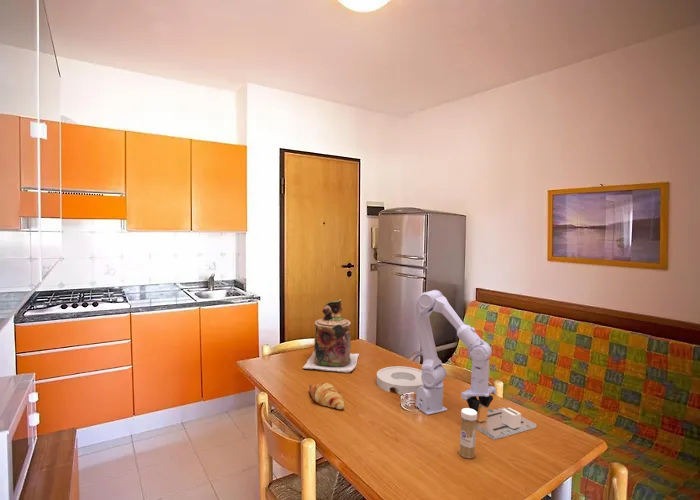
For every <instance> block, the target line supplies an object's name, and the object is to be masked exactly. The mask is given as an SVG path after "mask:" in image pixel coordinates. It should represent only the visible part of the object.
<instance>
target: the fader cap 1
mask: <svg viewBox="0 0 700 500" xmlns="http://www.w3.org/2000/svg"><path fill="white" fill-rule="evenodd" d="M488 411H489V407H486V406H484V405H482V404H481V403H480V404H479V407H478V413H477V421H479V422H482V421H486V420H487V413H488Z"/></svg>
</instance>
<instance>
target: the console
mask: <svg viewBox="0 0 700 500" xmlns="http://www.w3.org/2000/svg"><path fill="white" fill-rule="evenodd" d="M505 408H506V407H505V406H503V407H499V408H496V407H494V409H491V408H488V413H487V420H486V421H482V422H479V421H477V420H476V431H477V430H478V431H479V432H480V433H482V434H484V435H485V436H487V437H489V438H490V439H492V440H493V441H494V440H498V439H501V438H505V437H509V436H512V435H515V434H520V433H522V432H523V433H524V432H525V431H530V430H532V429H536V428H537V423H535V422H534V421H531V420H529V419H528V418H526V417H523V416H522V415H521V427H518V428H515V429H512V428H511V427H509V426H507V425H505V424H504V423H502V422H501V418H502V409H505Z"/></svg>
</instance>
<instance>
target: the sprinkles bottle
mask: <svg viewBox="0 0 700 500" xmlns="http://www.w3.org/2000/svg"><path fill="white" fill-rule="evenodd" d="M460 416H461V422H460V435H459V453H458V454H459V455H460V456H461V458H462V457H463V458H465V459H468V460H469V459H473V458H474V457H475V456H476V454H475V452H476V450H475V449H476V437H477V436H476V435H477V434H476V433H477V429H476V420H477V412H476V411H475V410H474V409H471V408H469V407H465V408H462V409H461V411H460Z"/></svg>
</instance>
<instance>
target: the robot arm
mask: <svg viewBox="0 0 700 500" xmlns="http://www.w3.org/2000/svg"><path fill="white" fill-rule="evenodd" d="M415 301H416V304H415V307H414V311H413V316H414V320H415V326H416V329H417V330H416V331H417V335H418V340H419V345H420V349H421V354H422V359H423V361H422V364H421V370H422V375H421V380H422V382H423V385H422V386H421V387H418V389H417V393H416V395H415V396H416V397H415V405H416V406H417V407H418V408H419V410H420V411H421V412H423V413H424V414H425V415H432V414H438V413H441V412H446V411H448V408H447V407H445V406H444V405H443V403H444V402H443V401H444V399H443V398H444V380H445V379H446V376H447V371H446V369H445V367H444V366H443V362H442V360H441V359H440V358H439V357H438V353H437V347H436V344H435V339H434V334H433V328H432V324H431V320H430V316H431V314H432V312H435V313H440V314H441V315H443V316H444V317H445V318H446V320H447V321H448V322H449V323H450V324H451V325H452V327H454V328H455V330H456V336H457V337H458V339H459V340H460V341H461V342H462V343H463V345H464V346H465V347H466V348H467V350H468V351H470V352H469V355H470V358H471V361H472V362H471V377H470V387H469V388H468V389H467V390H465V391H461V395H460V396H461V399H463V400H464V401H466V403H467V404H468V408H471V409H474V410H475V411H476V412H477V413H478V407H479V404H480V403H481V404H482V405H484V406H486V407H488V408H489V406H490V404H491V403H492V402H493V400H494V396H493V395H491V394H497V387H495V386H493V385H491V386H489V379H490V357H491V356H492V353H493V351H492V347H491V345H490V343H488V342H487V341H484V339H482V338H481V337H480V336H479V334H478V333H477V332H476V329H475V328H474V326H472V327H471V325H470V324H465V323H464V322H463V320H462V319H461V318H460V317H459V315H458V314H457V312H456V311H455V310H454V308H453V307H452V305H451V304H450V303H449V301H448V299H447V297H445V296H444V294H443V293H442V292H441V291H440V290H437V289H432V290H429V291H424V292H422V293H420V294H419V295H418V296H417V298H416V299H415ZM417 407H416V408H417ZM418 408H417V409H418Z"/></svg>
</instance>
